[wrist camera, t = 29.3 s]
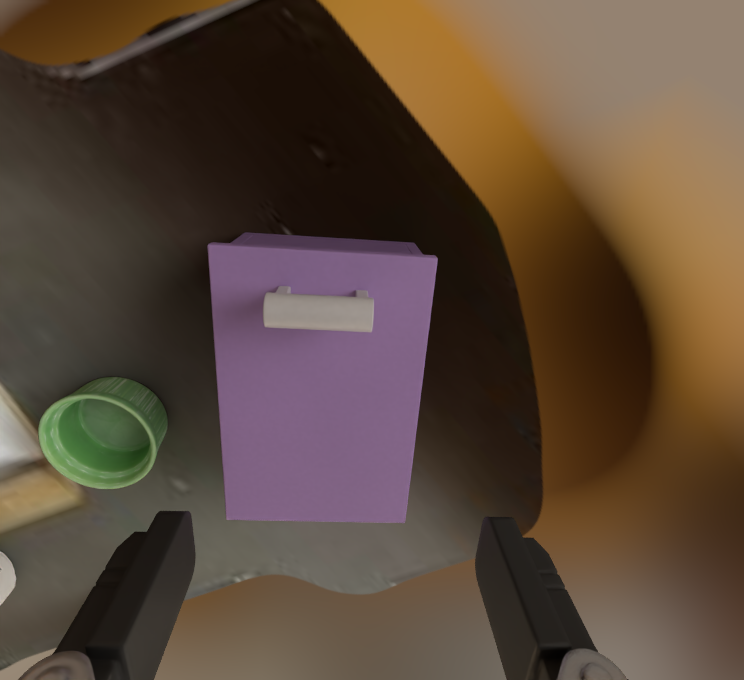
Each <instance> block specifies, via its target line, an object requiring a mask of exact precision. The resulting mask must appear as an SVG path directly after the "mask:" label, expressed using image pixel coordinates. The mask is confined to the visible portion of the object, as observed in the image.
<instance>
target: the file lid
mask: <svg viewBox="0 0 744 680" xmlns="http://www.w3.org/2000/svg"><path fill="white" fill-rule="evenodd" d="M208 259H209V274H210V288H211V303H212V317H213V332H214V347H215V361H216V376H217V390H218V405H219V420H220V434H221V449H222V463H223V478H224V493H225V507H226V519H227V520H271V521H326V522H381V523H405V519H406V511H407V502H408V494H409V486H410V478H411V470H412V462H413V454H414V446H415V438H416V430H417V421H418V413H419V405H420V397H421V389H422V381H423V373H424V365H425V357H426V349H427V340H428V332H429V324H430V316H431V308H432V300H433V292H434V284H435V276H436V268H437V257H436V256H434V255H418V254H401V253H384V252H368V251H351V250H334V249H317V248H300V247H284V246H267V245H250V244H233V243H216V242H212V243H210V244H208Z"/></svg>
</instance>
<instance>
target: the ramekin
mask: <svg viewBox="0 0 744 680" xmlns="http://www.w3.org/2000/svg"><path fill="white" fill-rule="evenodd" d="M167 425H168V421H167V414H166V411H165V408H164V406H163V404H162V403H161V401H160V400H159V398H158V397H157V396H156V395H155V394H154V393H153V392H152V391H151V390H149V389H148V388H146V387H145V386H143V385H142V384H140V383H138V382H136V381H133V380H130V379H126V378H121V377H106V378H100V379H96V380H93V381H91V382H89V383H88V384H86V385H84V386H83V387H81V388H80V389H78V390H77V391H75V392H74V393H73V394H71V395H68V396H66V397H64V398H62V399H60V400H58V401H56V402H55V403H53V404H52V405H51V406H50V407H49V408H48V409H47V410H46V411H45V413H44V414H43V416H42V418H41V420H40V423H39V428H38V438H39V443H40V447H41V449H42V452H43V454H44V455H45V457H46V459H47V460H48V461H49V463H50V464H51V465H52V466H53V467H54V468H55V469H56V470H57V471H59V472H60V473H61V474H62V475H64V476H65V477H67V478H69V479H70V480H72V481H74V482H77V483H79V484H82V485H85V486H88V487H93V488H100V489H115V488H122V487H126V486H129V485H131V484H134V483H136V482H137V481H139V480H140V479H142V478H143V477H144V476H145V475H146V474H147V473H148V472H149V471H150V470H151V468H152V466H153V464H154V462H155V460H156V456H157V452H158V449H159V447H160V445H161V443H162V441H163V439H164V437H165V434H166V431H167Z"/></svg>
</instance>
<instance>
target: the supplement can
mask: <svg viewBox="0 0 744 680" xmlns="http://www.w3.org/2000/svg"><path fill="white" fill-rule="evenodd" d="M15 582H16V576H15V570H14V568H13V565H12V562H11V561H10V560H9V559H8V558H7V556H6V555H5V554H4V553H2V552H1V551H0V605H1V604H2V603H3V602H4V600H5V599H6V598H7V596H8V595H9V594H10V593H11V591H12V590H13V589H14V588H15Z"/></svg>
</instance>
